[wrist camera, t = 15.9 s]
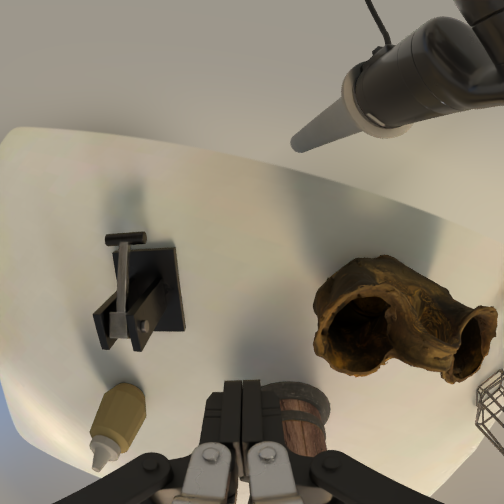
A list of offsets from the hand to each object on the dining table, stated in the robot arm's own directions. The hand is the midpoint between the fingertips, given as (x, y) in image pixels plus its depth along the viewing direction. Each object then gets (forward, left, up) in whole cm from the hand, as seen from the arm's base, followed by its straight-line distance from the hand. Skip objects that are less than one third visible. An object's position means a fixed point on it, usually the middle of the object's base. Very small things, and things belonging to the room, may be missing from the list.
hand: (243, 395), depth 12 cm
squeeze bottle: (+26, -22, -29) cm, 45 cm away
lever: (+3, -14, -21) cm, 26 cm away
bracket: (+6, -14, -29) cm, 33 cm away
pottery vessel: (+7, +18, -29) cm, 35 cm away
